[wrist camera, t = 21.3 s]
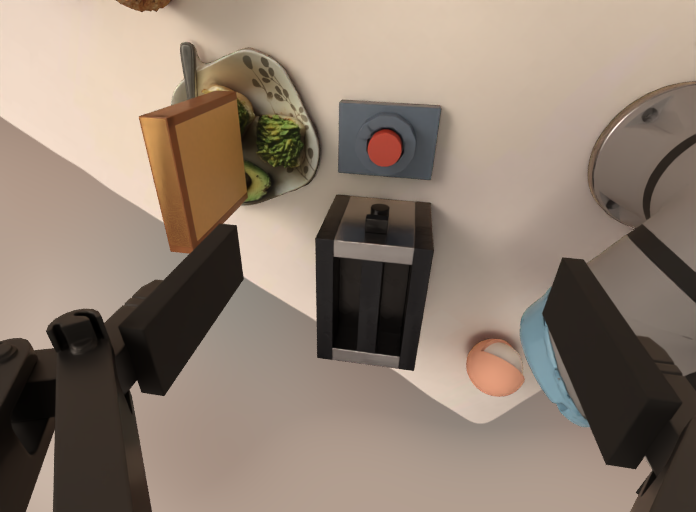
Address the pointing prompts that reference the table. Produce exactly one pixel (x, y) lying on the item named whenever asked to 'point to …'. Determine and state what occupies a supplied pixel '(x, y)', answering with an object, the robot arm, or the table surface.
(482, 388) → the toy ball
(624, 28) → the table surface
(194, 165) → the toast
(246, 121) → the salad plate
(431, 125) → the button block
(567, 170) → the table surface
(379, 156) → the stop button
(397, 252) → the toaster
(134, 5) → the bread
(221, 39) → the table surface
